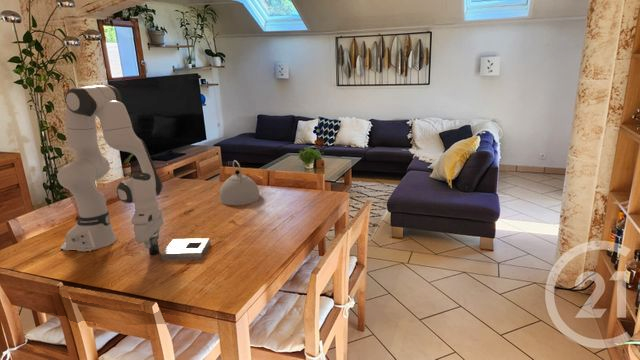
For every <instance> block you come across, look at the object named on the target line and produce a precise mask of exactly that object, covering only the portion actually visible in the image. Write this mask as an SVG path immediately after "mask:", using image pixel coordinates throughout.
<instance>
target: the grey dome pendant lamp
mask: <svg viewBox="0 0 640 360" xmlns="http://www.w3.org/2000/svg"><path fill="white" fill-rule="evenodd" d="M235 163H236V164H237V167H238V169H235ZM232 171H233V174H232V175H231V176H229V177H228V178H227V179H226V180H225V181H224V182H223V183H222V184H221V187H220V189H219V202H220V203H221V204H223V205H226V206H241V205H248V204H251V203H254V202H257V201H258V200H259V199H260V198H261V197H260V191H259V186H258V185H257V183H256V182H255V181H254V179H252V178H250V177H249V176H247V175H245V174H243V173H242V168H241V165H240V163H239V162H238V161H237V160H235V159H234V160H233V161H232Z"/></svg>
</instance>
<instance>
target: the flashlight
mask: <svg viewBox="0 0 640 360" xmlns="http://www.w3.org/2000/svg"><path fill="white" fill-rule="evenodd" d="M157 236H158V232H155V233H154V234H153V235H152V236H151V237H150V238H149V242H150V243H151V247H150V248H149V249H148V254H149V256H157V255H159V254H160V246H159V240H158V239H157Z"/></svg>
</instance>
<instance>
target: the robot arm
mask: <svg viewBox="0 0 640 360" xmlns="http://www.w3.org/2000/svg"><path fill="white" fill-rule="evenodd" d="M64 95H65V96H64V101H65V116H64V117H65V118H64V119H65V132H66V135H65V136H66V144H67V146H68V147H69V148H70V150H73V151H74V153H75V155H76V160H74V161H71V162H69V163H67V164H65V165H64V166H62V167H61V168H60V169H59V170H58V172H57V173H56V177H57V181H58V183H59V185H60V186H62V187H63V188H64V189H67V190H68V191H69V192H70V194H72V196H73V197H74V200H75V203H76V206H77V209H78V210H77V211H78V215H77V216H76V217H74V219H73V220H74V222H76V221H77V222H76V224H75V225H74V226H73V227H72V228H71V229H69V230H68V232H67V233H66V234H65V241H64V242H63V243H62V244H61V246H60V250H61V249H63V250H62V251H69V250H77V251H76V252H86V251H89V252H92V250H93V251H95V250H98V249H102V248H105V247H107V246H110V245H112V244H114V243H116V241H117V240H118V238H117V236H116V234H115V232H114V229H113V227H112V225H111V217H110V211H109V210H108V208H107V207H108V206H107V203H106V202H107V201H106V197H105V194H104V193H103V192H101V191H99V190H98V189H97V187H96V185H95V182H96V181H98V180H100V179H102V178H104V177H105V175H107V173H109V171H110V169H111V167H110V162H109V160H108V159H107V158H106V157H105V156H104V155H103V154H102V152H101V149H100V147H99V143H98V134H97V123H96V117H97V118H98V120H99V122H100V126H101V130H102V135H103V139H104V141H105V143H106V145H108V146H109V147H110V148H111V149H114V150H117V151H121V152H126V153H130V154H132V155H134V156H135V157H136V159H137V161H138V164H139V166H140V169H141V172H138V173H135V174H133V175H132V176H131V177H130V178H129V179H126V180H122V181H121V182H119V183H118V185H117V187H116V194H117V197H118V200H119V201H120V202H123V203H124V204H134V210H135V211H134V212H133V213H134V214H133V216H132V217H131V224H132V225H133V232H134V237H135V241H136V242H137V243H140V244H141V243H142V244H144V246H145V249H148V250H149V248H150V247H151V243H150V242H149V238H150V237H151V236H152V235H153V234H154V233H155V232H158V236H157V240H158V239H160V228H161V227H162V225H164V217H163V213H162V211H161V209H160V208H159V203H158V201H157V196H159V195H160V194H161V192H162V189H163V181H162V179H161V177H160V176H159V174H158V172H157V170H156V167H155V166H154V165H155V164H154V163H153V160H152V157H151V155H150V153H149V150H148V148H147V146H146V143H145V141H144V140H143V139H142V138H140V137H138V136H137V134H136V133H135V131H134V128H133V124H132V120H131V118H130V115H129V113H128V110H127V108H126V106H125V104H124V103H123V102H122V96H121V93H120V91H119V90H118V88H116V86H113V85H109V84H103V85H100V84H91V85H85V86H76V87H73V88H70V89H69V90H67V91H66V93H65V94H64Z"/></svg>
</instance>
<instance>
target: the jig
mask: <svg viewBox="0 0 640 360" xmlns="http://www.w3.org/2000/svg"><path fill="white" fill-rule="evenodd" d="M210 246H211V238H210V237H206V238H205V237H201V238H200V237H199V238H196V237H195V238H173V239H172V240H171V242H169V244H168V245H167V246H166V247H165V249H164V250H163V251H162V252H161V258H162V259H161V261H163V262H164V261H184V260H185V261H189V260H203V257H204V256H205V255H206V253H207V251H208V249H209V247H210Z"/></svg>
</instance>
